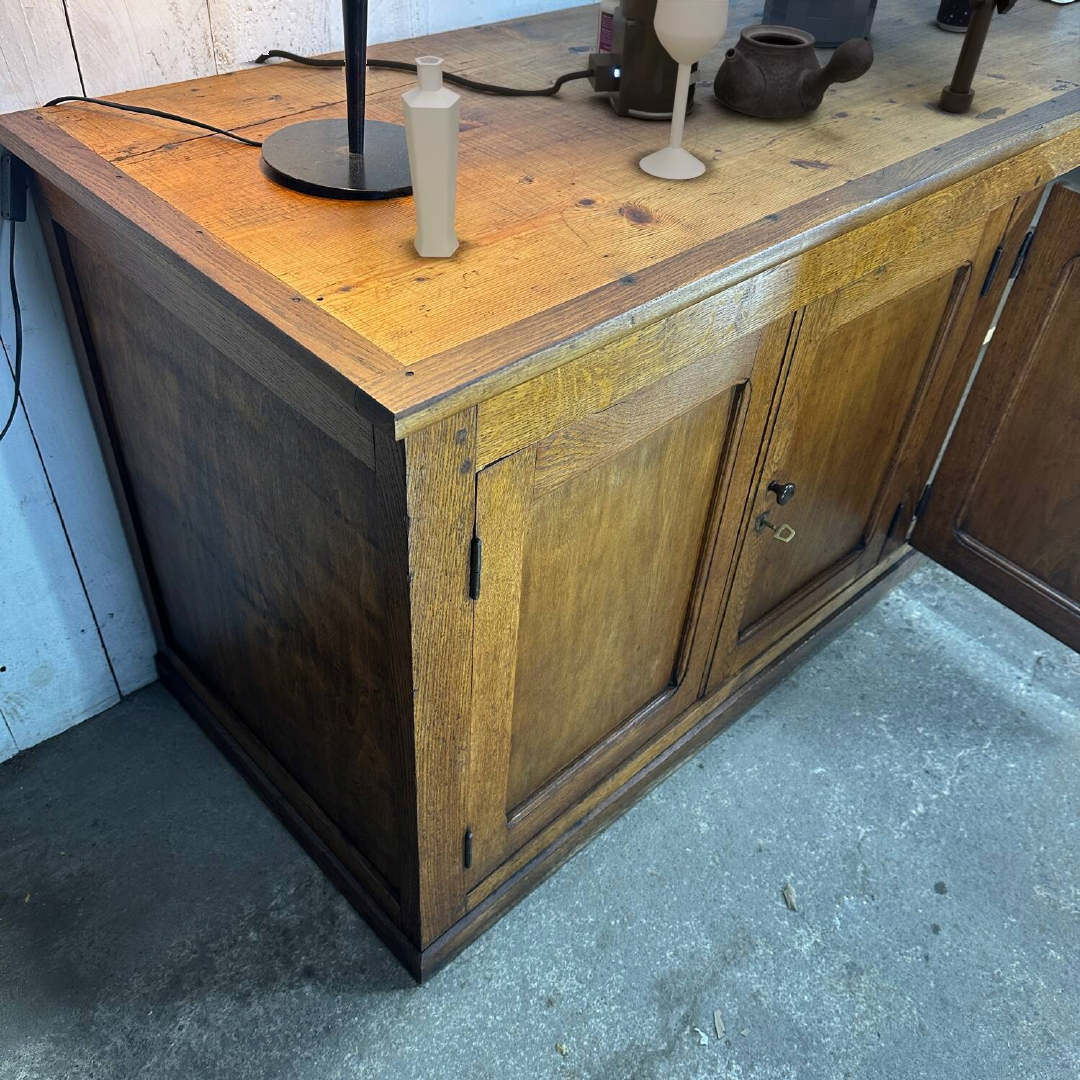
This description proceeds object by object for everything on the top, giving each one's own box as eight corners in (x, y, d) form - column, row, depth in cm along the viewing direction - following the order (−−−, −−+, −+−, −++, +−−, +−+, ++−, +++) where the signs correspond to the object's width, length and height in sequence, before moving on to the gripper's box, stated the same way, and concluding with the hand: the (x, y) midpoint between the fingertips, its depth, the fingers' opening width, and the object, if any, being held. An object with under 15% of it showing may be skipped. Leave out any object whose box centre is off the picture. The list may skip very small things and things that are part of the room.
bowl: (781, 49, 130) (791, -6, 126) (747, 18, 141) (755, -34, 136) (884, 48, 132) (898, -6, 128) (843, 17, 143) (854, -34, 138)
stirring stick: (946, 113, 114) (991, -34, 104) (932, 102, 117) (974, -42, 106) (975, 112, 114) (1022, -34, 104) (960, 101, 117) (1005, -42, 107)
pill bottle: (645, 72, 121) (654, -16, 114) (606, 76, 119) (613, -13, 113) (626, 59, 125) (634, -27, 118) (588, 62, 123) (594, -25, 116)
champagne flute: (625, 165, 99) (652, -119, 83) (665, 148, 103) (698, -127, 87) (680, 185, 96) (719, -107, 80) (718, 166, 100) (763, -116, 83)
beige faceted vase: (463, 235, 86) (460, 51, 76) (462, 259, 83) (459, 69, 73) (410, 235, 86) (400, 49, 76) (407, 258, 82) (396, 67, 72)
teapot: (672, 109, 112) (684, 12, 105) (752, 81, 120) (768, -11, 113) (813, 159, 102) (836, 56, 95) (890, 125, 110) (916, 28, 104)
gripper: (938, -173, 103) (954, -11, 102) (1059, -170, 105) (1076, -11, 104) (902, -122, 110) (917, 30, 109) (1016, -120, 112) (1031, 29, 111)
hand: (995, 9), depth 107 cm, fingers closed on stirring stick, 2 cm apart
